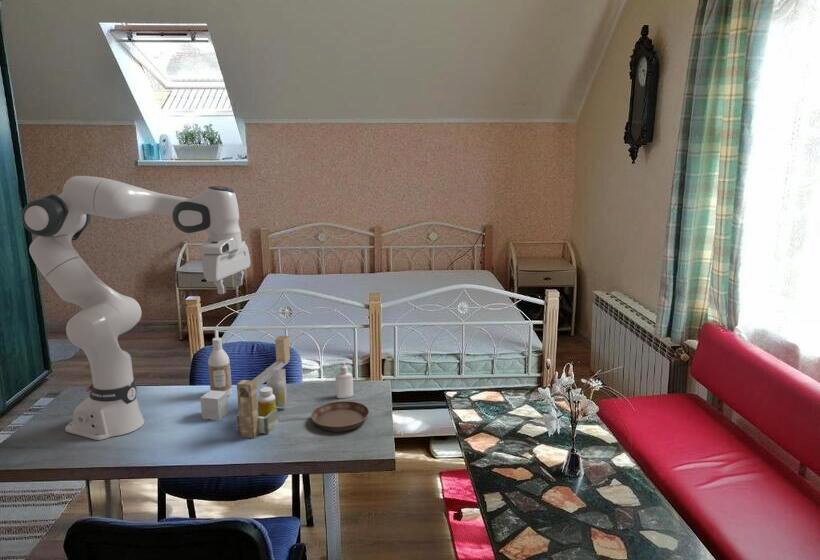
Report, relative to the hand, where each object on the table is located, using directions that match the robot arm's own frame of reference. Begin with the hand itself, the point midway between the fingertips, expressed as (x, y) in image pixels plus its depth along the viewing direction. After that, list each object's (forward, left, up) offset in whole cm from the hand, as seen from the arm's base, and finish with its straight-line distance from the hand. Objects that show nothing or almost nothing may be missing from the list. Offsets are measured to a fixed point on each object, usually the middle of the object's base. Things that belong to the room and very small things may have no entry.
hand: (230, 289), depth 185 cm
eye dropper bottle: (+25, +25, -42) cm, 55 cm away
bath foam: (-17, +18, -42) cm, 49 cm away
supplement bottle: (+7, +4, -42) cm, 43 cm away
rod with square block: (+7, +6, -41) cm, 42 cm away
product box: (-10, +2, -42) cm, 44 cm away
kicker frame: (+7, -3, -42) cm, 43 cm away
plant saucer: (+30, +7, -43) cm, 52 cm away
